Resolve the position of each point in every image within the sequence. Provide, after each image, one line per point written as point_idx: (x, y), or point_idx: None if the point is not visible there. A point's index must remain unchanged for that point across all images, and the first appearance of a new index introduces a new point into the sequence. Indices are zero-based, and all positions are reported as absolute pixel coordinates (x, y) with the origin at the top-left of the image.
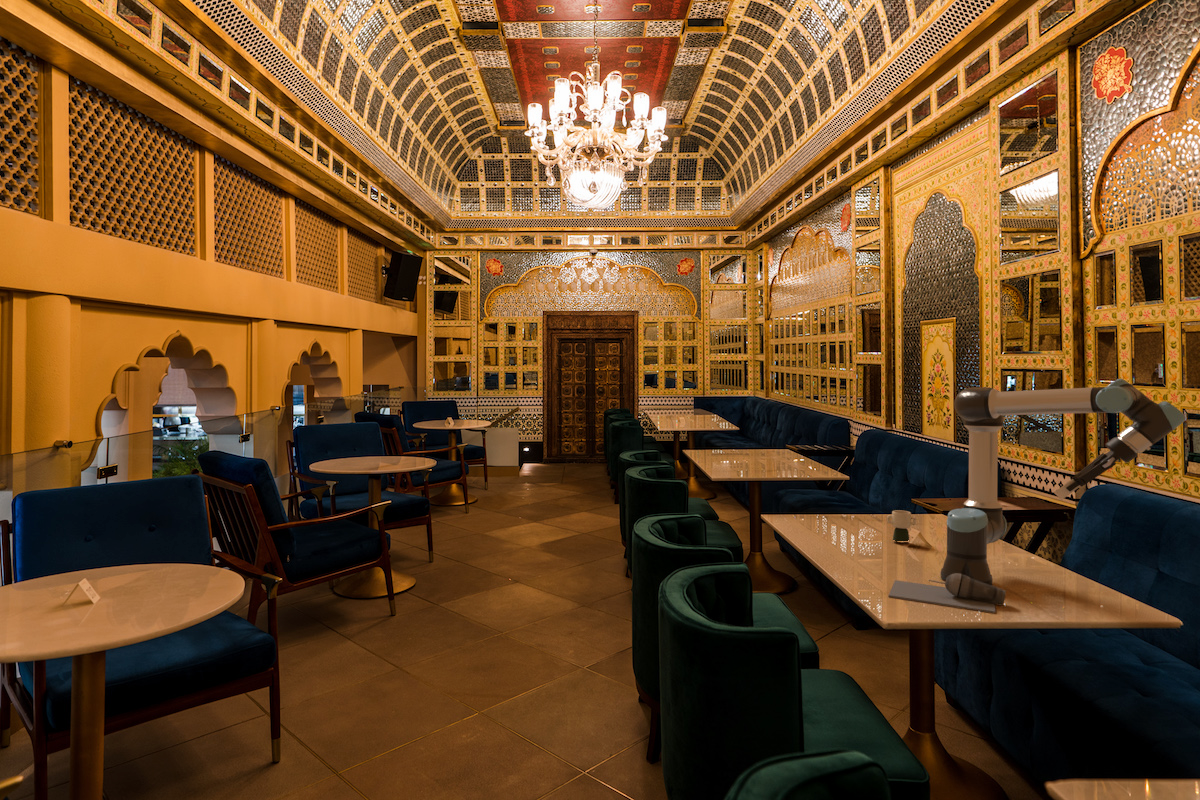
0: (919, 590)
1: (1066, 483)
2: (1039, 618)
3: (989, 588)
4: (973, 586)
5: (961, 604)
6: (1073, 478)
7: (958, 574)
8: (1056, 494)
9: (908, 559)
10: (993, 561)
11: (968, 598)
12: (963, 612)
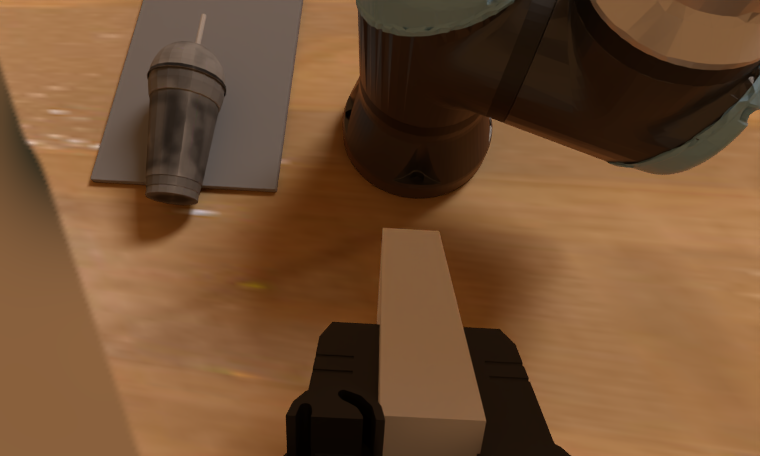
0: (226, 24)
1: (437, 331)
2: (85, 287)
3: (151, 147)
4: (150, 107)
5: (129, 107)
6: (297, 415)
7: (169, 55)
8: (381, 253)
9: None
10: (748, 226)
11: None
12: (79, 112)
